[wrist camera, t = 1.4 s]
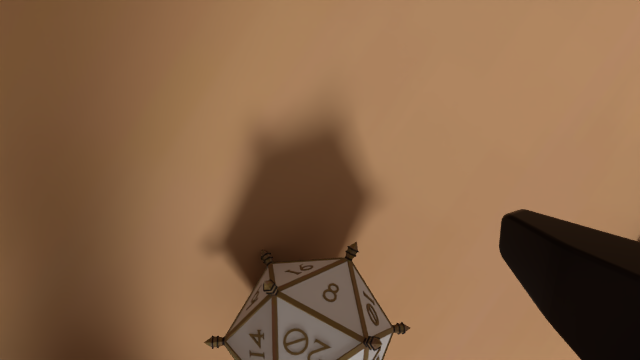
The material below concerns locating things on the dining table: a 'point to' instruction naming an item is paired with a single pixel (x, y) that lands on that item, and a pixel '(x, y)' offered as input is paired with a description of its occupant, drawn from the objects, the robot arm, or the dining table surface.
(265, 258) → the game die
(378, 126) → the dining table surface
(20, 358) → the dining table surface
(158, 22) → the dining table surface
